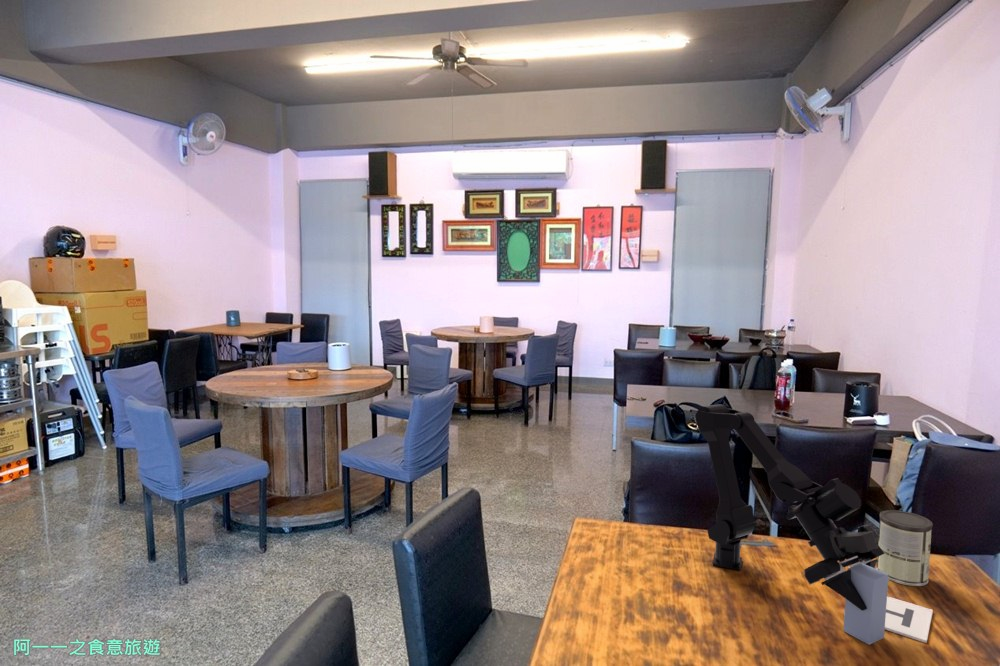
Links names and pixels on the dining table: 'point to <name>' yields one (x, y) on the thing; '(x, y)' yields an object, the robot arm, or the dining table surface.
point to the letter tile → (907, 619)
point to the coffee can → (905, 547)
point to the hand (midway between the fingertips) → (872, 606)
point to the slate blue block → (867, 604)
